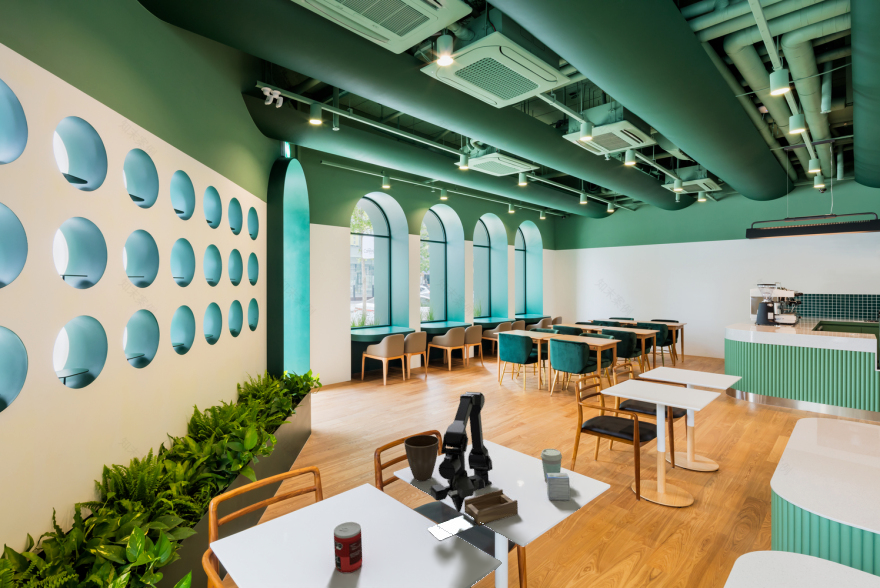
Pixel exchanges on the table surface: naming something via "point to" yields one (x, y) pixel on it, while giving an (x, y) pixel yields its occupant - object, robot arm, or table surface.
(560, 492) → the medicine box
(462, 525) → the cover plate
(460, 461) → the robot arm
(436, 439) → the plant pot
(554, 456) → the coffee cup
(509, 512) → the walnut box
